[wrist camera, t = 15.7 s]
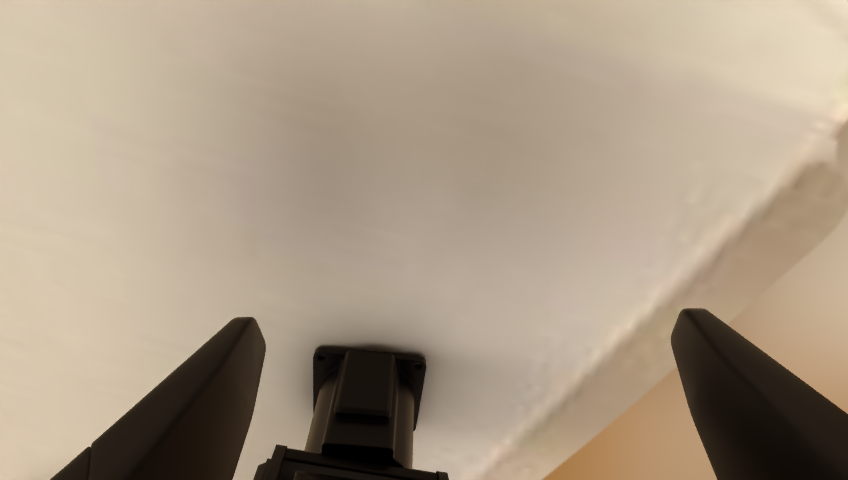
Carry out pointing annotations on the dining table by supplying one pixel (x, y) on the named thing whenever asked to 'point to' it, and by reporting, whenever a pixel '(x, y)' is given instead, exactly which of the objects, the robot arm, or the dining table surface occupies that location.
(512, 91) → the dining table surface
